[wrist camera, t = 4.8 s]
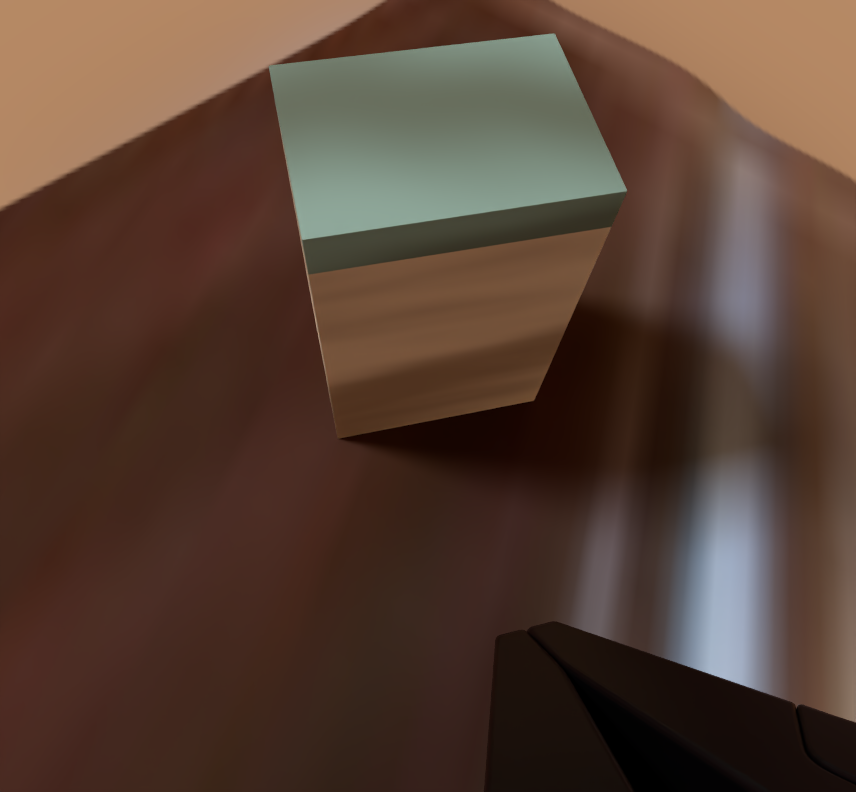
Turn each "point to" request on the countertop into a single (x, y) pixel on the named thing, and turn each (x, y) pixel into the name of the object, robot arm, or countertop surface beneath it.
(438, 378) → the birch block
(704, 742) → the robot arm
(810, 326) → the countertop surface
